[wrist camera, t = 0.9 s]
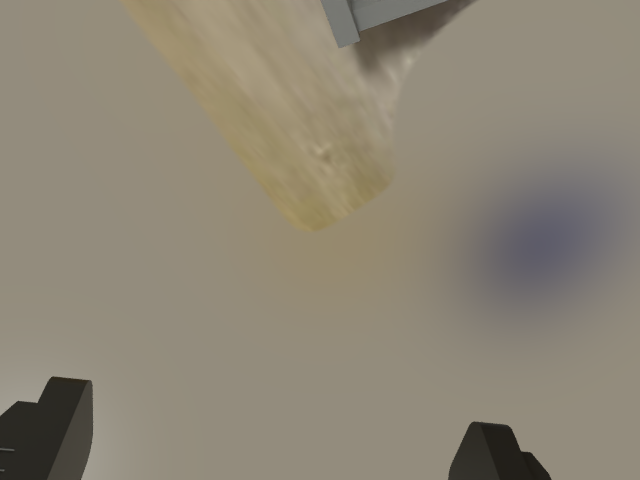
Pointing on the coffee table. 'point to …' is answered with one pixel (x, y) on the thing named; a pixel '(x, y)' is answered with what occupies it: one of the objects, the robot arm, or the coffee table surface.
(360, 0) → the box
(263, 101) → the coffee table surface
